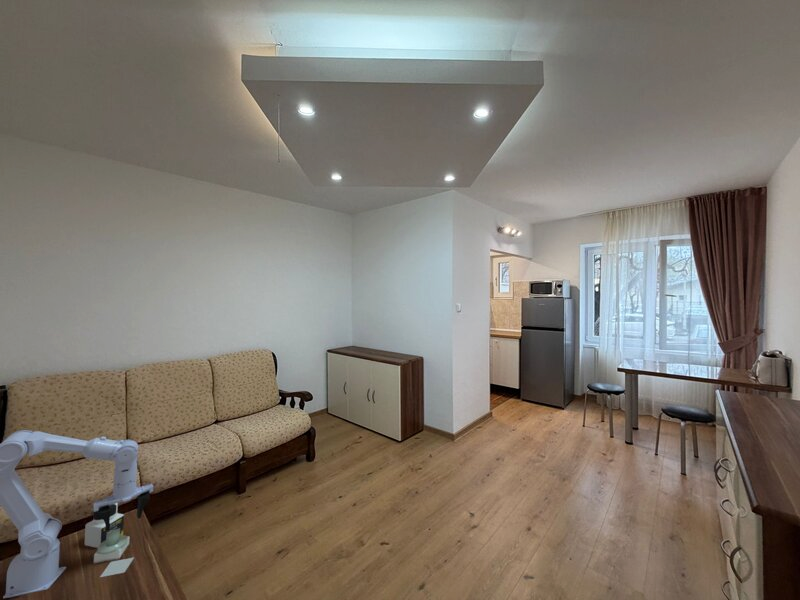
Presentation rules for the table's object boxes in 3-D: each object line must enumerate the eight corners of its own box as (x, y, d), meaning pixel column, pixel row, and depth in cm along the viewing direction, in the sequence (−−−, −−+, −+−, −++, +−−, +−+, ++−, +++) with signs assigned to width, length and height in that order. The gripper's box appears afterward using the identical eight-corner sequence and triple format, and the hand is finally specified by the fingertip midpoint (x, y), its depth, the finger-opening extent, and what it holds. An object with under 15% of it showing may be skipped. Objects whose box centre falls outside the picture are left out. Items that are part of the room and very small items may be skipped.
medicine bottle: (100, 549, 103) (102, 512, 104) (83, 546, 105) (85, 509, 105) (123, 534, 110) (125, 499, 111) (107, 531, 112) (109, 497, 112)
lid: (92, 556, 97) (93, 542, 97) (105, 540, 103) (105, 527, 103) (120, 551, 99) (121, 537, 99) (131, 536, 106) (131, 523, 106)
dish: (93, 564, 97) (94, 554, 97) (105, 549, 103) (105, 540, 103) (118, 559, 99) (119, 550, 99) (129, 545, 105) (129, 536, 105)
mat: (99, 578, 92) (99, 577, 92) (110, 563, 98) (110, 561, 98) (124, 573, 94) (124, 572, 94) (134, 558, 100) (134, 557, 100)
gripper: (95, 494, 94) (94, 541, 94) (155, 476, 105) (154, 517, 105) (93, 486, 99) (91, 529, 98) (151, 468, 110) (149, 508, 109)
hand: (123, 522), depth 102 cm, fingers open, 7 cm apart
